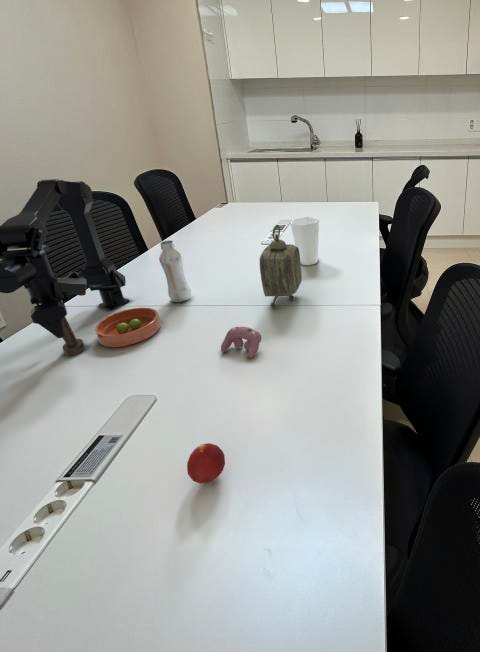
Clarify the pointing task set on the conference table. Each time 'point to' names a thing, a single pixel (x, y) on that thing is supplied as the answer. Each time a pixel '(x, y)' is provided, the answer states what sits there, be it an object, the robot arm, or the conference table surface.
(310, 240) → the cup
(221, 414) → the conference table surface
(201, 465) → the onion
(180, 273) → the plastic bottle
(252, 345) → the video game controller
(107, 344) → the bowl
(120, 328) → the olive
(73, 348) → the brown bolt
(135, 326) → the olive
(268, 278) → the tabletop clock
